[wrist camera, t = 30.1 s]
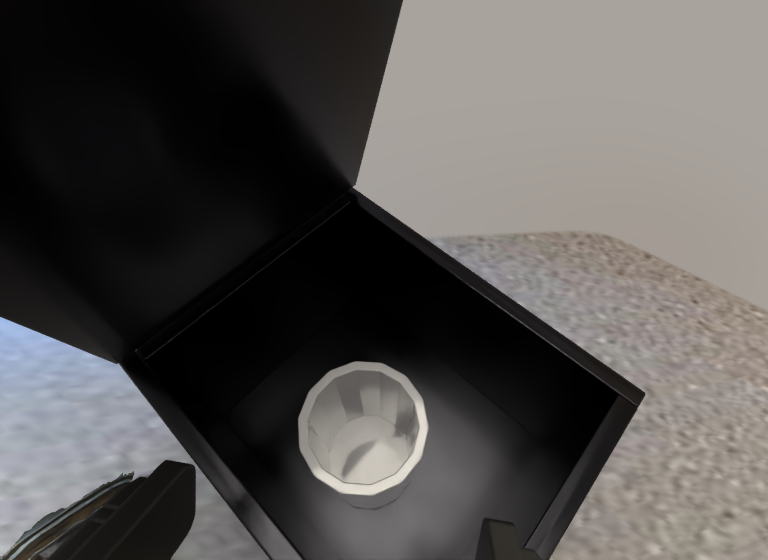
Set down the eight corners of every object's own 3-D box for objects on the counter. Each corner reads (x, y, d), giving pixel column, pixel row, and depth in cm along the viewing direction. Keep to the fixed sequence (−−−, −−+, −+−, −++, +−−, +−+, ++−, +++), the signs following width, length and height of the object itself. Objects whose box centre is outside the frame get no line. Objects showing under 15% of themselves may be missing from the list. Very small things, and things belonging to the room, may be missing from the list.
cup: (433, 453, 24) (454, 417, 17) (370, 532, 22) (363, 530, 15) (368, 393, 26) (362, 337, 19) (304, 461, 24) (270, 428, 16)
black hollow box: (554, 443, 25) (647, 393, 16) (408, 663, 20) (427, 765, 11) (360, 284, 31) (351, 185, 22) (207, 421, 26) (116, 361, 17)
